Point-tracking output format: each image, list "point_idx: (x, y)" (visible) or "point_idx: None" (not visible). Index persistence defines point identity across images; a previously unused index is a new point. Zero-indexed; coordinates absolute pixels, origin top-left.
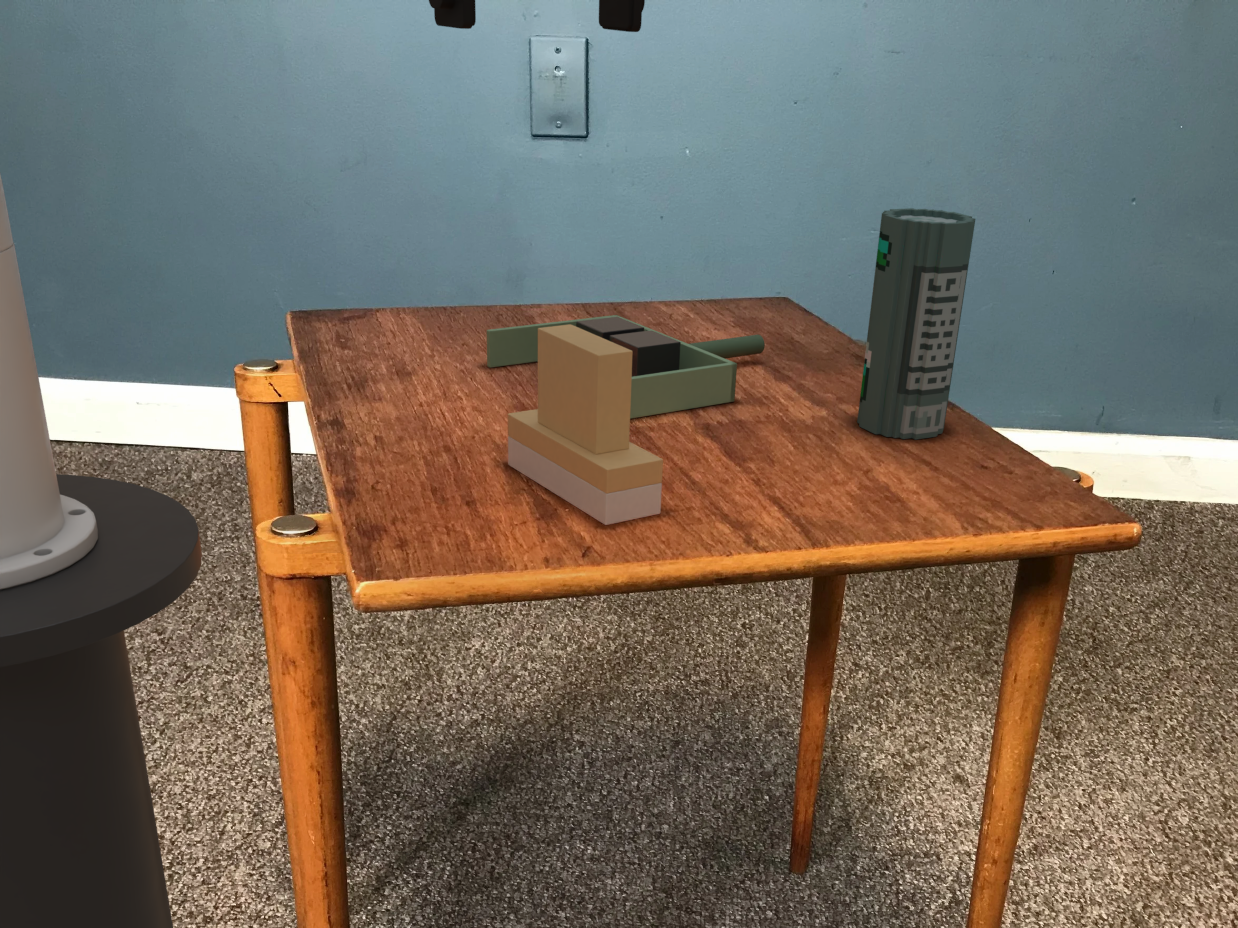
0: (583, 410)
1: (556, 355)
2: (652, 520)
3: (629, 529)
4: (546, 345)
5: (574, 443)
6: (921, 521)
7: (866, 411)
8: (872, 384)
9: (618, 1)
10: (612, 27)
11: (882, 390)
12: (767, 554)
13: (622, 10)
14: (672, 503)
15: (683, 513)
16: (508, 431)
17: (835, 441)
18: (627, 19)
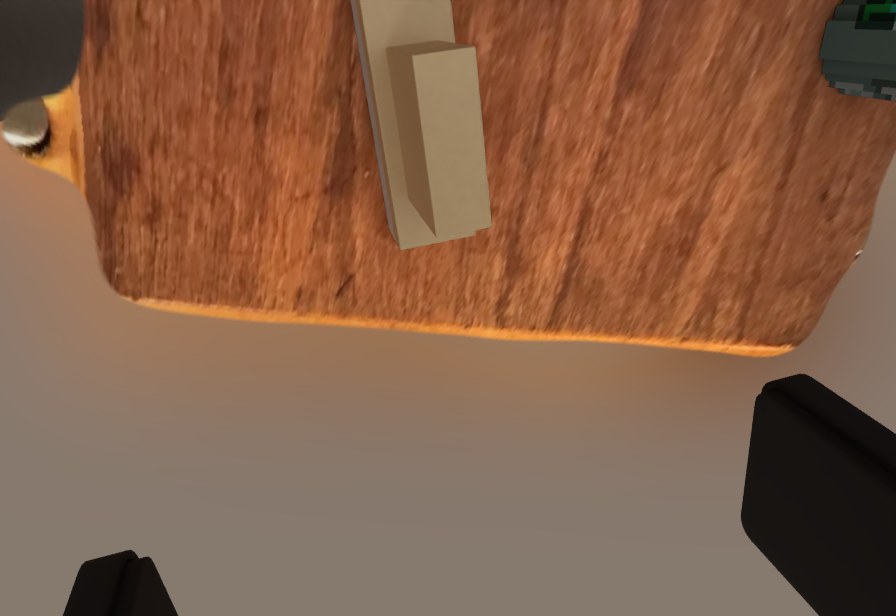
0: (413, 181)
1: (414, 116)
2: None
3: None
4: (411, 85)
5: (400, 151)
6: (667, 302)
7: (842, 33)
8: (872, 40)
9: (799, 538)
10: (749, 456)
11: (866, 61)
12: (500, 332)
13: (777, 538)
14: None
15: None
16: None
17: (764, 62)
18: (759, 538)
